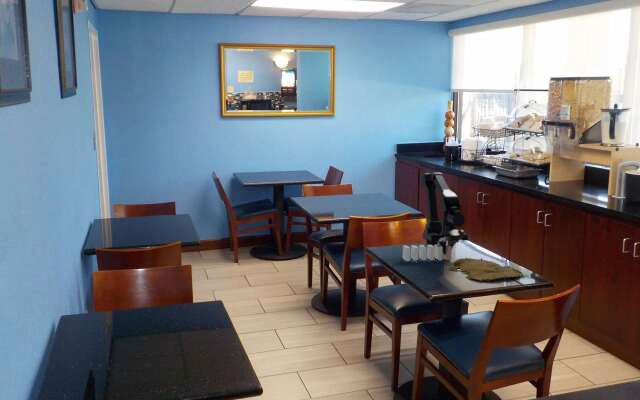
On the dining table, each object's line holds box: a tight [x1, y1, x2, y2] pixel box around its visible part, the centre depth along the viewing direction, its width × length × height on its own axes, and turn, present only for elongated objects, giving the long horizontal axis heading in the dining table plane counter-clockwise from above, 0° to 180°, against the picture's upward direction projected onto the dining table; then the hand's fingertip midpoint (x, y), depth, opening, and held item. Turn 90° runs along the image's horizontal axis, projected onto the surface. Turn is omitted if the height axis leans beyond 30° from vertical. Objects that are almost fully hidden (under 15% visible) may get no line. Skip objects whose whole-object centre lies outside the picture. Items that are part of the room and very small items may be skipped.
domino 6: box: [442, 243, 453, 261], centre depth 271 cm, size 4×2×7 cm, turn 13°
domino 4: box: [426, 245, 435, 261], centre depth 270 cm, size 4×2×7 cm, turn 13°
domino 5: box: [434, 244, 443, 261], centre depth 270 cm, size 4×2×7 cm, turn 13°
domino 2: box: [410, 244, 419, 261], centre depth 268 cm, size 4×2×7 cm, turn 13°
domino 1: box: [402, 245, 411, 261], centre depth 267 cm, size 4×2×7 cm, turn 13°
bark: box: [448, 257, 524, 282], centre depth 253 cm, size 28×4×30 cm
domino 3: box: [418, 244, 427, 261], centre depth 269 cm, size 4×2×7 cm, turn 13°
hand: (446, 254), depth 272 cm, fingers closed on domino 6, 2 cm apart
